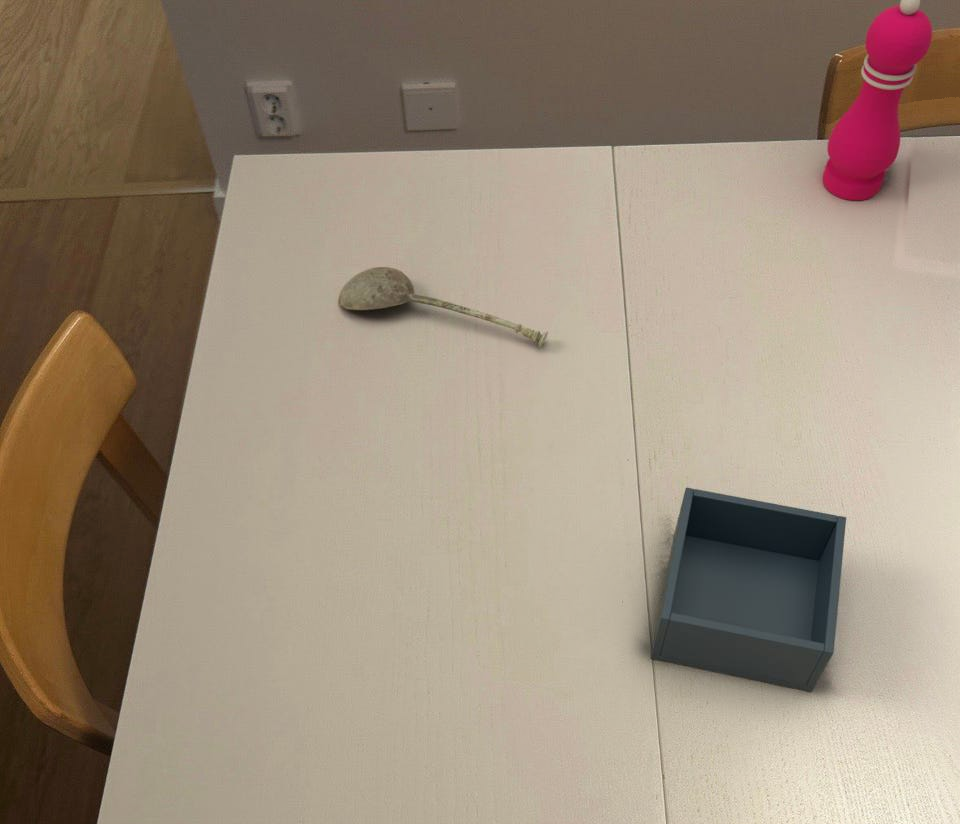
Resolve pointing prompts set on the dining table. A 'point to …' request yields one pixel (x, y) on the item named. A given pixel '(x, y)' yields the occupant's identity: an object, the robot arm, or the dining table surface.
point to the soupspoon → (407, 297)
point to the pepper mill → (877, 103)
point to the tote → (751, 590)
